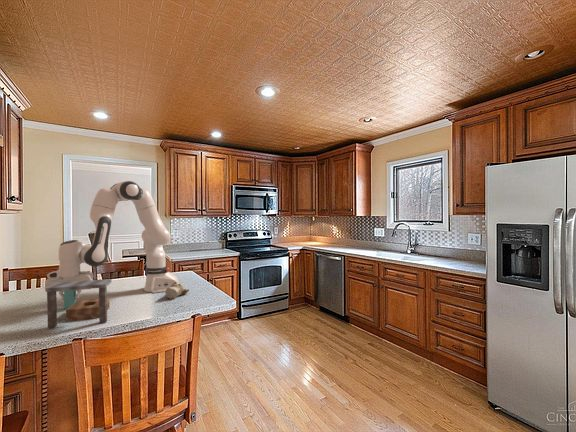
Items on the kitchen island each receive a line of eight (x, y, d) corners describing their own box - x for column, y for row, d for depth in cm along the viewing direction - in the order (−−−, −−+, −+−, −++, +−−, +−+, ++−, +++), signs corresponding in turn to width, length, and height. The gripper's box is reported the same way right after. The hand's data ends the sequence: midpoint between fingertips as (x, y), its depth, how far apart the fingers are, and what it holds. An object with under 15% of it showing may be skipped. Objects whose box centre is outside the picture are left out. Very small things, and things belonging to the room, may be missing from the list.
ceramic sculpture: (160, 284, 163) (174, 279, 178) (159, 299, 163) (173, 293, 178) (177, 284, 161) (190, 280, 176) (177, 300, 161) (190, 294, 176)
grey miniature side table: (118, 306, 151) (117, 273, 151) (106, 323, 130) (105, 284, 129) (68, 311, 144) (67, 276, 144) (46, 329, 123) (45, 288, 122)
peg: (76, 306, 152) (76, 285, 152) (73, 308, 148) (73, 287, 148) (67, 307, 151) (67, 285, 151) (64, 309, 147) (63, 288, 147)
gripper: (95, 269, 155) (95, 295, 156) (49, 272, 149) (49, 299, 149) (91, 272, 149) (91, 298, 150) (43, 274, 143) (43, 302, 143)
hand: (70, 298), depth 149 cm, fingers closed on peg, 4 cm apart
